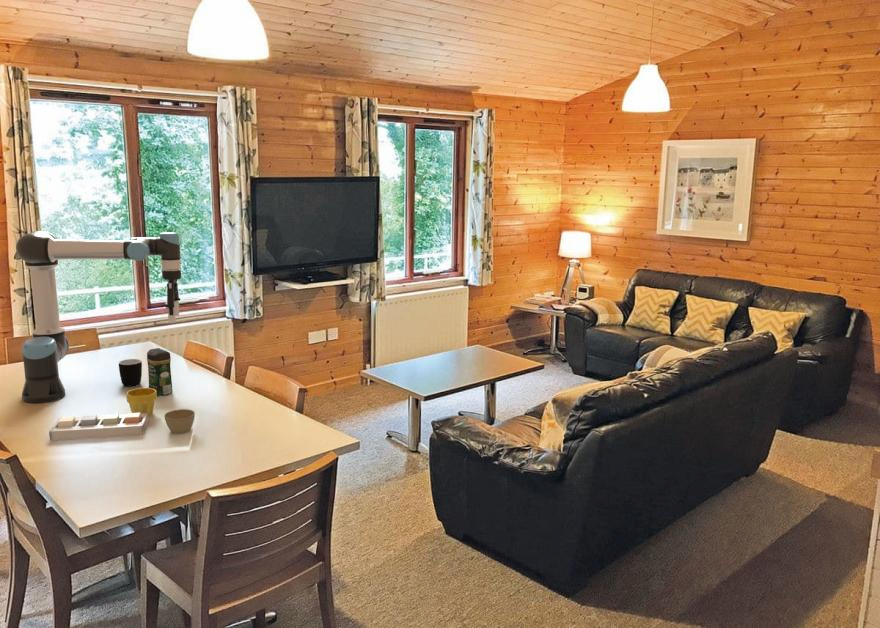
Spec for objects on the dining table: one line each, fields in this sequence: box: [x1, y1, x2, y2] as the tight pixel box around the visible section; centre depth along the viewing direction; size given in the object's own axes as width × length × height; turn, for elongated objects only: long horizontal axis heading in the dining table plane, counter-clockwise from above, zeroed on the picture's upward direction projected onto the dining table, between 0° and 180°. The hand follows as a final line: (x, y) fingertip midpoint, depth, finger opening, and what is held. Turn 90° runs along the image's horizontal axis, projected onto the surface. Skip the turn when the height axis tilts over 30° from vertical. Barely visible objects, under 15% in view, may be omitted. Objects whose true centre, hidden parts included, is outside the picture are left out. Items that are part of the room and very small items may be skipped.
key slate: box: [80, 414, 98, 426], centre depth 245 cm, size 4×4×2 cm
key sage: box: [103, 413, 120, 425], centre depth 246 cm, size 4×4×2 cm
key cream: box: [58, 416, 76, 428], centre depth 243 cm, size 4×4×2 cm
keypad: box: [48, 413, 149, 442], centre depth 246 cm, size 29×13×4 cm, turn 105°
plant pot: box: [126, 387, 158, 417], centre depth 263 cm, size 10×10×10 cm
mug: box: [118, 358, 143, 388], centre depth 301 cm, size 12×9×10 cm
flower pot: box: [163, 408, 196, 435], centre depth 248 cm, size 10×10×7 cm
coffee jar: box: [146, 347, 174, 397], centre depth 289 cm, size 10×8×19 cm
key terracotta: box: [125, 412, 141, 423], centre depth 248 cm, size 4×4×2 cm
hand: (174, 319), depth 301 cm, fingers open, 13 cm apart
